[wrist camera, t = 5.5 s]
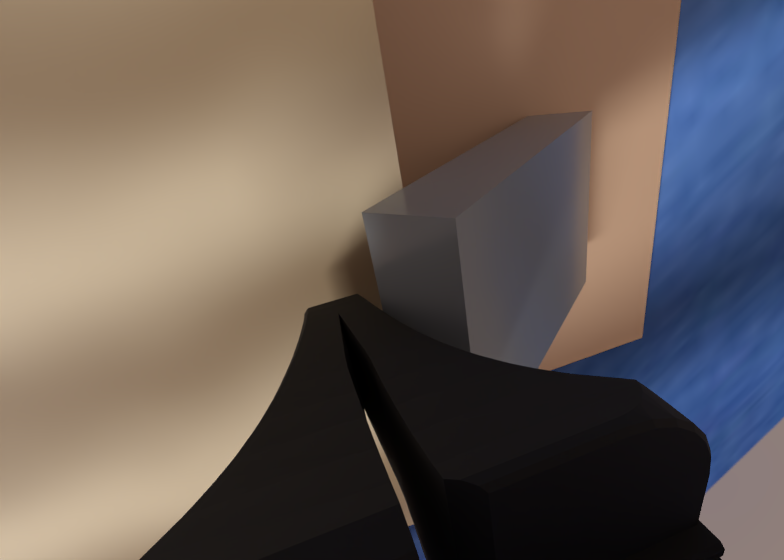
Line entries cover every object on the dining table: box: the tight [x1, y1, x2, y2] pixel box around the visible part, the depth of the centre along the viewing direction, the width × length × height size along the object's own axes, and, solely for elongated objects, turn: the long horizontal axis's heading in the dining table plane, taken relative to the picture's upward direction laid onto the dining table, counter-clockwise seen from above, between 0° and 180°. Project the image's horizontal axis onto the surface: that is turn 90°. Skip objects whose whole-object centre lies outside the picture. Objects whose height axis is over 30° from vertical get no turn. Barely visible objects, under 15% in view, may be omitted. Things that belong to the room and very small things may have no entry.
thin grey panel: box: [362, 111, 592, 369], centre depth 12 cm, size 6×9×2 cm
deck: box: [0, 0, 414, 560], centre depth 12 cm, size 18×14×4 cm
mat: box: [372, 0, 681, 371], centre depth 16 cm, size 16×11×1 cm
